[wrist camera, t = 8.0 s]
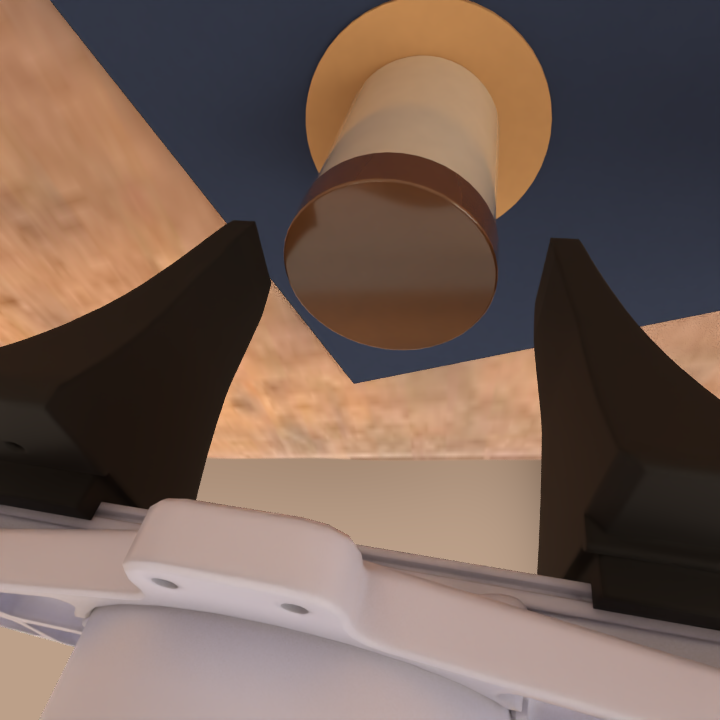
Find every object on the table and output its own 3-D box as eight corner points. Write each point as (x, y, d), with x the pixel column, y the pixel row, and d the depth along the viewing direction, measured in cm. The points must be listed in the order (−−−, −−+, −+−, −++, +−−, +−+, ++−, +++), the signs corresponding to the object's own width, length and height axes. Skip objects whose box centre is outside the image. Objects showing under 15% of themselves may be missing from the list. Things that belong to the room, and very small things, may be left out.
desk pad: (757, 296, 20) (762, 306, 20) (355, 378, 29) (352, 386, 28) (721, -920, 7) (732, -959, 6) (-8, -86, 15) (-22, -82, 15)
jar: (523, 176, 18) (526, 326, 13) (386, 224, 20) (348, 366, 15) (468, 16, 14) (446, 140, 10) (315, 97, 17) (240, 226, 12)
